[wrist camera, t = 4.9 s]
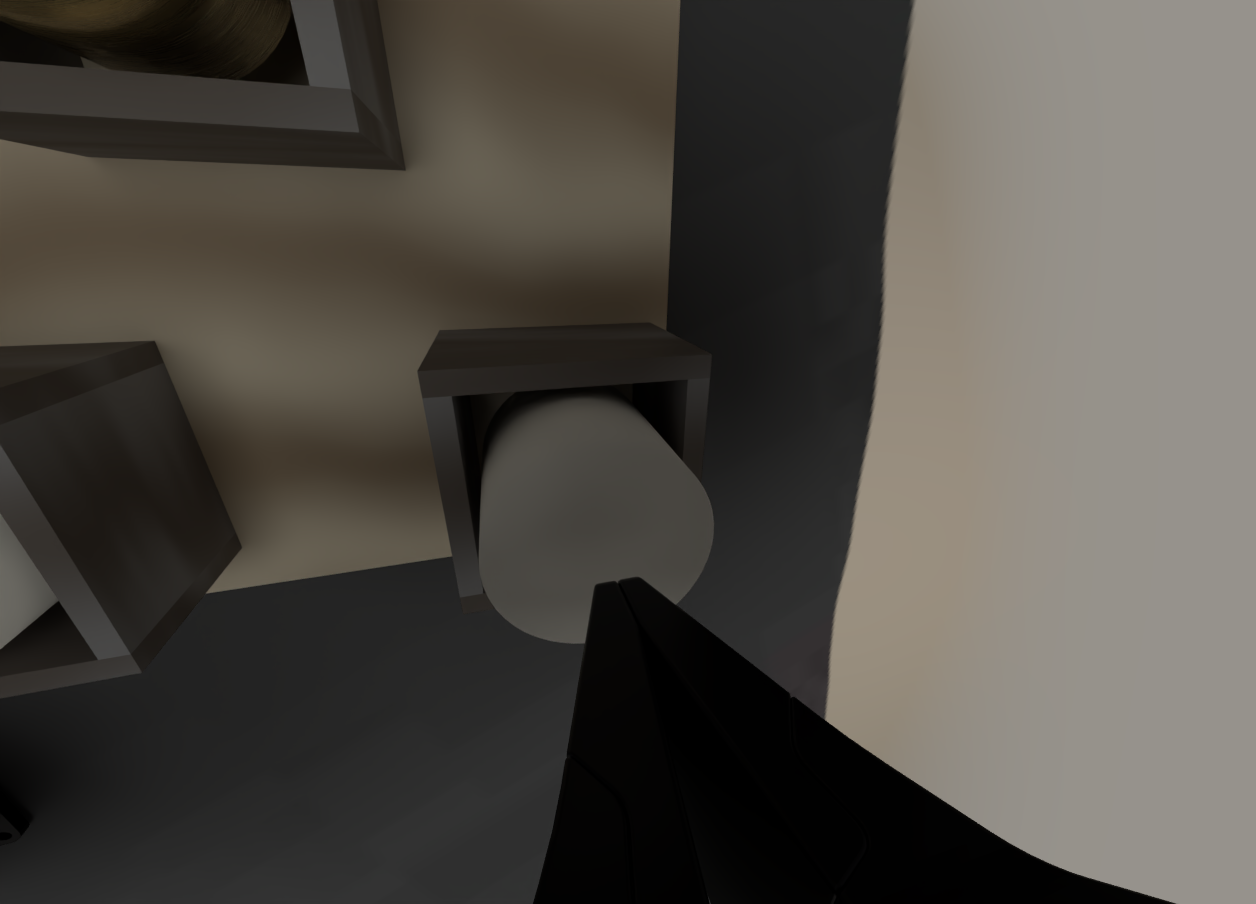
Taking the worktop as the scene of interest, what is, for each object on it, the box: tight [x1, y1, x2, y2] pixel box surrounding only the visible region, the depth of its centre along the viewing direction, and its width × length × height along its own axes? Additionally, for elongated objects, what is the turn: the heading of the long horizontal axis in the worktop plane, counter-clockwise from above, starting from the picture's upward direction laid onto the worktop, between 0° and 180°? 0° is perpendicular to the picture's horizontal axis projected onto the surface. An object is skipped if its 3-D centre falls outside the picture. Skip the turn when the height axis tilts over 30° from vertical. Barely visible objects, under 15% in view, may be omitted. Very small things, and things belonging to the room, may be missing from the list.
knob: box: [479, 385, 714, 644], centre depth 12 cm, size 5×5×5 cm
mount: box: [0, 0, 712, 698], centre depth 11 cm, size 20×22×6 cm
